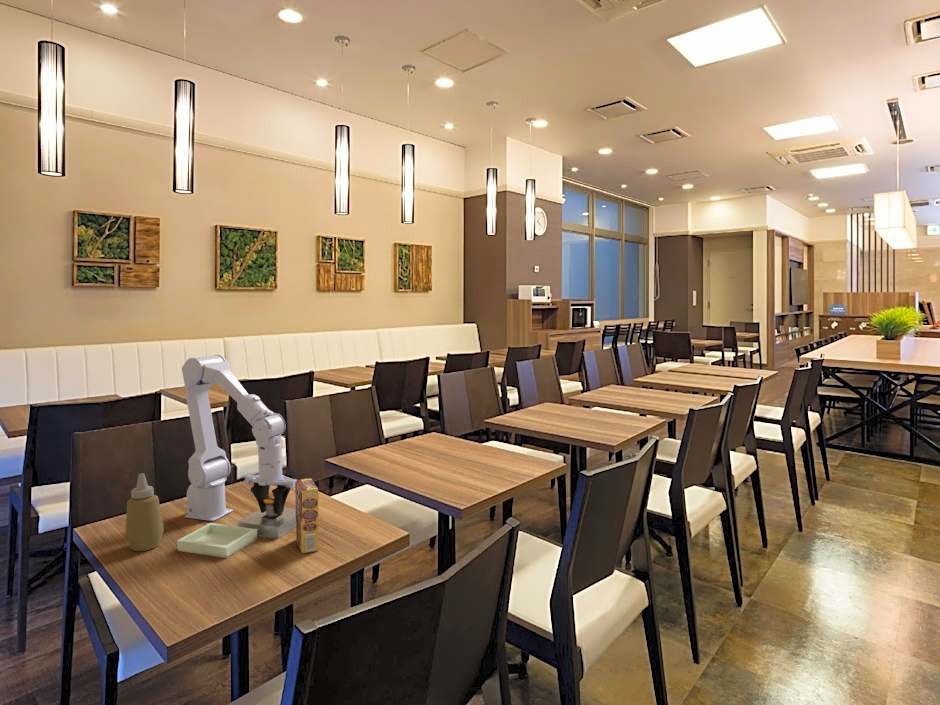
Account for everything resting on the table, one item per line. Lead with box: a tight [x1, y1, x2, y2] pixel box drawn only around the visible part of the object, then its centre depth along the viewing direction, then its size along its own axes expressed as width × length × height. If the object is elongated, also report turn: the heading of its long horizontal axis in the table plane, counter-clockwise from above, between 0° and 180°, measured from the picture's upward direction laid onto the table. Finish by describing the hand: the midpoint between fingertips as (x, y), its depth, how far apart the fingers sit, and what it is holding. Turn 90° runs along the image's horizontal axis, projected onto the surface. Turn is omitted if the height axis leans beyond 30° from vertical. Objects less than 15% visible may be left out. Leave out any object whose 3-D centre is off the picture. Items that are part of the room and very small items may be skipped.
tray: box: [176, 522, 258, 559], centre depth 138 cm, size 14×11×2 cm
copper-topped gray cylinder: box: [263, 493, 278, 519], centre depth 148 cm, size 4×4×8 cm
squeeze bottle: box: [124, 472, 165, 552], centre depth 136 cm, size 8×8×18 cm
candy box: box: [294, 478, 320, 554], centre depth 137 cm, size 9×4×15 cm, turn 26°
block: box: [237, 506, 296, 540], centre depth 149 cm, size 12×12×3 cm
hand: (272, 512), depth 148 cm, fingers closed on copper-topped gray cylinder, 4 cm apart
